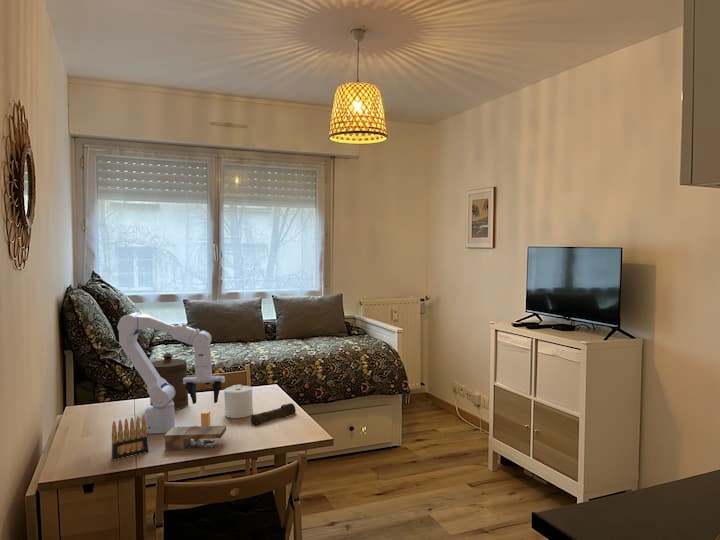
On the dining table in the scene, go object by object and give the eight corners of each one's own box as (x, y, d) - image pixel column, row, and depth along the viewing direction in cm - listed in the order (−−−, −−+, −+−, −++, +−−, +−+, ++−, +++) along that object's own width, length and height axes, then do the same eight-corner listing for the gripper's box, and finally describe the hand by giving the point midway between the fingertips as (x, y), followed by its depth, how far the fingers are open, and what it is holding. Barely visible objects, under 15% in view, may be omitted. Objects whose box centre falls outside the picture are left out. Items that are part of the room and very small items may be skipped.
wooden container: (180, 398, 239) (178, 348, 238) (194, 406, 227) (192, 353, 226) (145, 405, 229) (143, 353, 228) (158, 413, 218) (155, 358, 217)
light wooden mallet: (192, 440, 187) (192, 423, 187) (203, 427, 201) (202, 411, 200) (200, 440, 187) (199, 423, 187) (210, 427, 201) (209, 411, 200)
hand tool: (255, 426, 201) (255, 414, 201) (250, 424, 204) (249, 411, 204) (299, 415, 213) (299, 404, 213) (293, 413, 216) (293, 401, 216)
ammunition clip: (147, 450, 179) (145, 413, 179) (148, 452, 178) (147, 415, 177) (111, 458, 173) (110, 420, 173) (112, 459, 172) (111, 422, 171)
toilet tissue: (232, 420, 208) (231, 394, 207) (218, 413, 217) (218, 388, 217) (257, 414, 215) (257, 389, 214) (243, 407, 224) (242, 383, 223)
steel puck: (202, 448, 181) (202, 443, 181) (205, 443, 185) (205, 438, 185) (214, 447, 181) (214, 442, 181) (217, 443, 185) (217, 438, 185)
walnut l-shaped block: (165, 450, 179) (164, 435, 178) (173, 441, 187) (172, 427, 186) (220, 449, 179) (220, 433, 179) (226, 440, 187) (226, 425, 187)
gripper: (226, 362, 202) (228, 398, 203) (186, 363, 202) (188, 400, 203) (221, 366, 195) (223, 404, 196) (180, 368, 195) (182, 405, 196)
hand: (205, 402), depth 199 cm, fingers open, 7 cm apart
